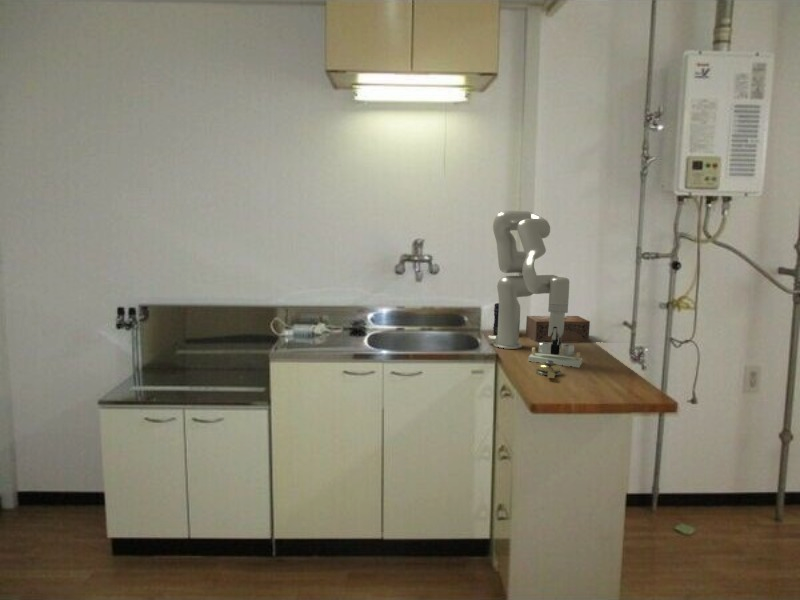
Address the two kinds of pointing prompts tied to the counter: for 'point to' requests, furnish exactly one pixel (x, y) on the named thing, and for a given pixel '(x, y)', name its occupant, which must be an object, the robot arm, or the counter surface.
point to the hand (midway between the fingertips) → (555, 352)
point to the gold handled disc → (549, 368)
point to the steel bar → (563, 349)
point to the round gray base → (546, 373)
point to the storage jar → (496, 319)
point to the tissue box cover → (573, 328)
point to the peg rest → (556, 359)
